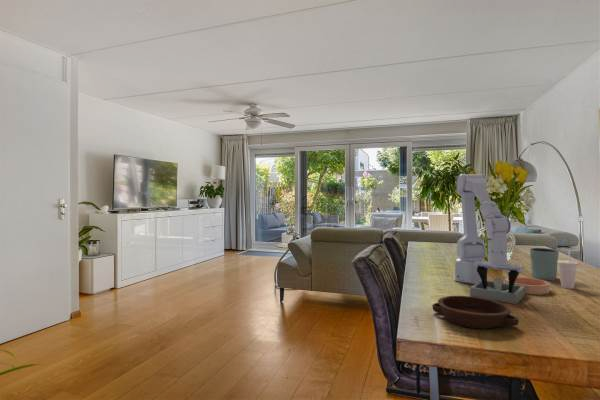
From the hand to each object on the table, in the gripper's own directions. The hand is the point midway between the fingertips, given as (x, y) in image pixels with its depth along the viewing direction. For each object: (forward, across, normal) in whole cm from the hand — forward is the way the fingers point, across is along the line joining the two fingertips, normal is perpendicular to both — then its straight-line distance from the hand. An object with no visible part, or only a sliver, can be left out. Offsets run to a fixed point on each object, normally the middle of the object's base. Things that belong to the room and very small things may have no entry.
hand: (497, 289), depth 121 cm
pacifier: (+2, 0, 0) cm, 2 cm away
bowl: (+2, +6, +16) cm, 17 cm away
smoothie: (+2, +17, +29) cm, 34 cm away
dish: (+2, +1, -32) cm, 32 cm away
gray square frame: (+2, 0, 0) cm, 2 cm away
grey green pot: (+2, +8, +42) cm, 43 cm away
